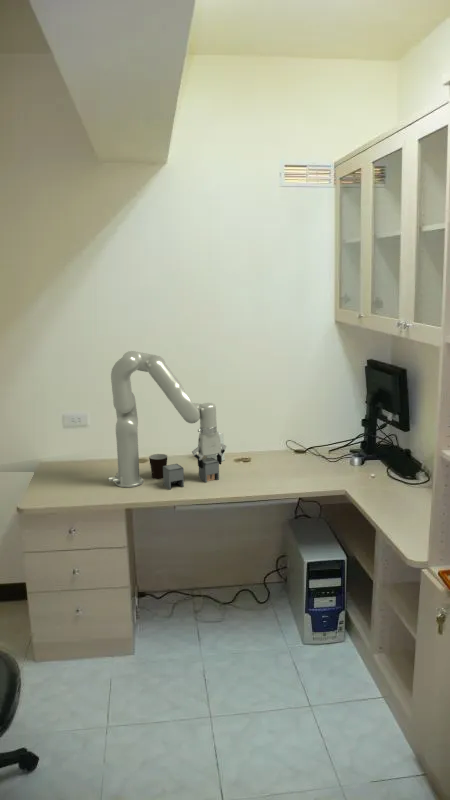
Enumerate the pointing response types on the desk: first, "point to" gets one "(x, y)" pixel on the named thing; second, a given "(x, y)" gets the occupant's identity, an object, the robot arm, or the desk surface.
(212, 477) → the letter cube
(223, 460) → the skincare box
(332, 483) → the desk surface
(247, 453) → the desk surface
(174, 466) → the cover left
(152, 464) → the coffee mug
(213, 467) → the cover right
